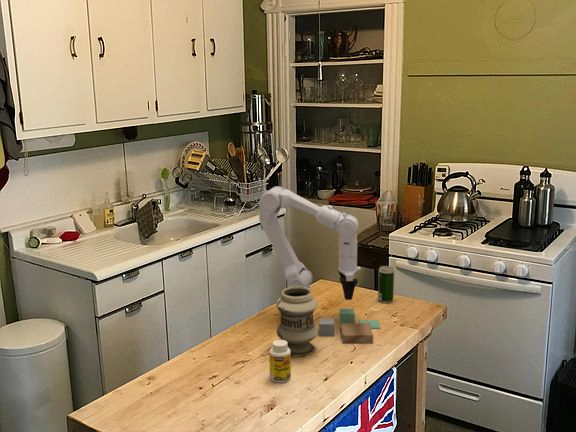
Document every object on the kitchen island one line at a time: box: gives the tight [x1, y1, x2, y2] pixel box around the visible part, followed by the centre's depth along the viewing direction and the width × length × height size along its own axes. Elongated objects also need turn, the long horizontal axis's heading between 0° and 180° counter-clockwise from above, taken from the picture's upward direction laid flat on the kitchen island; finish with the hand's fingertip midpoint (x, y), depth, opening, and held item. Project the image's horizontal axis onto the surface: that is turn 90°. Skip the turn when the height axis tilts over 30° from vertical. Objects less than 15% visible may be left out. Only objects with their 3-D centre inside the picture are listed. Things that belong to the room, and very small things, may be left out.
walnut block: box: [340, 322, 374, 345], centre depth 189 cm, size 9×9×3 cm
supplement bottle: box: [269, 339, 292, 383], centre depth 163 cm, size 6×6×10 cm
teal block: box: [339, 308, 356, 326], centre depth 199 cm, size 4×4×4 cm
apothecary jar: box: [275, 286, 319, 357], centre depth 180 cm, size 12×12×18 cm
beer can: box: [377, 265, 395, 304], centre depth 217 cm, size 5×5×12 cm
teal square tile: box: [358, 319, 381, 330], centre depth 198 cm, size 6×6×1 cm
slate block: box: [318, 317, 335, 337], centre depth 192 cm, size 4×4×4 cm
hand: (347, 295), depth 198 cm, fingers open, 7 cm apart
